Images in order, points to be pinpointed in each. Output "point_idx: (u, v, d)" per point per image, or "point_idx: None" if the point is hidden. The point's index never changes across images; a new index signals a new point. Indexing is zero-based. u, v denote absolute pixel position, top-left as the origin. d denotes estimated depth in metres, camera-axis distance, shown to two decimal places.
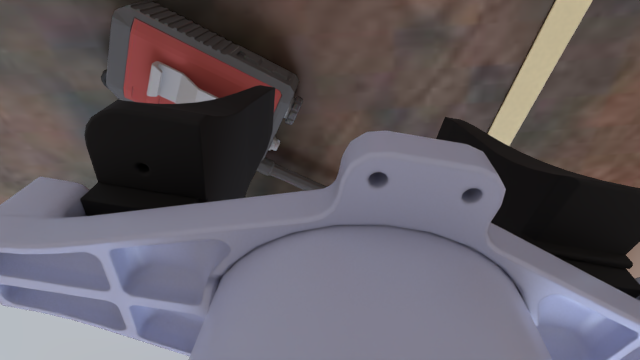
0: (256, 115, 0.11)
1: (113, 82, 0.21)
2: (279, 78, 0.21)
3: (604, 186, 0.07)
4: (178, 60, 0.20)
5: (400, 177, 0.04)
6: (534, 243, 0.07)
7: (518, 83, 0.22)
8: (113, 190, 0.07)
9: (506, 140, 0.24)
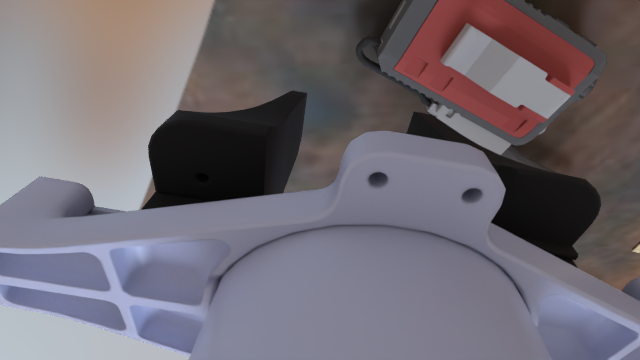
0: (294, 121, 0.11)
1: (392, 50, 0.18)
2: None
3: (542, 175, 0.06)
4: (489, 22, 0.16)
5: (400, 177, 0.04)
6: None
7: None
8: (172, 200, 0.07)
9: None
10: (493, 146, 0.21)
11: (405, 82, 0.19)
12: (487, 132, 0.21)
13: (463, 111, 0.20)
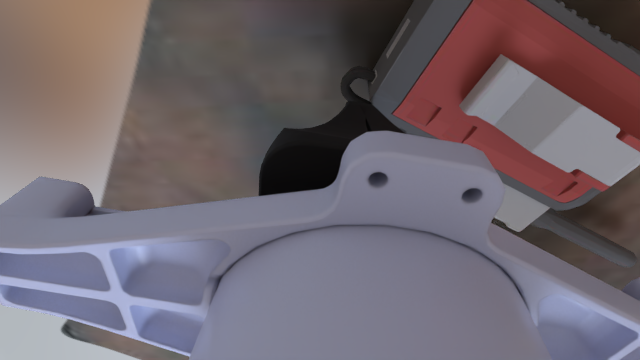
0: None
1: (390, 90, 0.12)
2: None
3: None
4: (534, 52, 0.11)
5: (400, 177, 0.04)
6: None
7: None
8: None
9: None
10: (526, 209, 0.16)
11: (408, 131, 0.14)
12: (519, 192, 0.15)
13: None
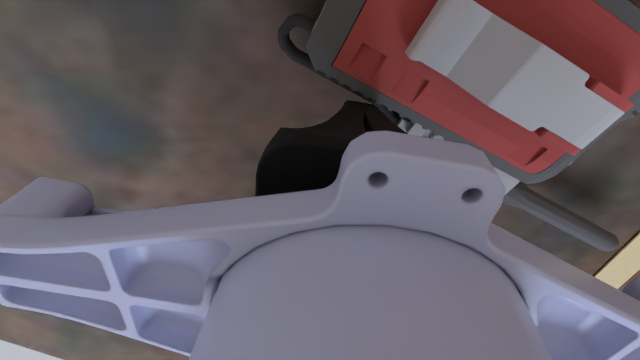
0: None
1: (325, 35, 0.11)
2: None
3: None
4: None
5: (400, 177, 0.04)
6: None
7: None
8: None
9: None
10: None
11: (353, 87, 0.12)
12: None
13: (447, 133, 0.13)
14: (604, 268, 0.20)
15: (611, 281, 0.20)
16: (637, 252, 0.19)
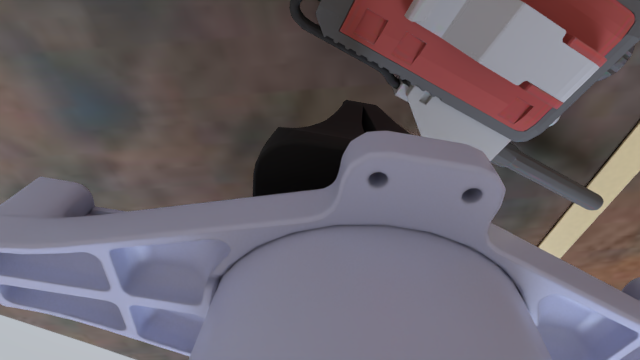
0: None
1: (334, 1, 0.12)
2: None
3: None
4: None
5: (400, 177, 0.04)
6: None
7: None
8: None
9: None
10: (486, 143, 0.16)
11: (358, 51, 0.13)
12: (477, 124, 0.15)
13: (443, 94, 0.14)
14: (550, 233, 0.22)
15: (558, 245, 0.22)
16: (579, 217, 0.21)
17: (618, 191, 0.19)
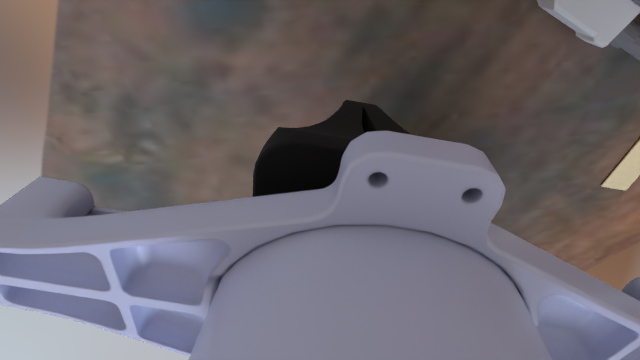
0: None
1: None
2: None
3: None
4: None
5: (400, 177, 0.04)
6: None
7: None
8: None
9: None
10: (616, 15, 0.17)
11: None
12: None
13: None
14: None
15: None
16: None
17: None
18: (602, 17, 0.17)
